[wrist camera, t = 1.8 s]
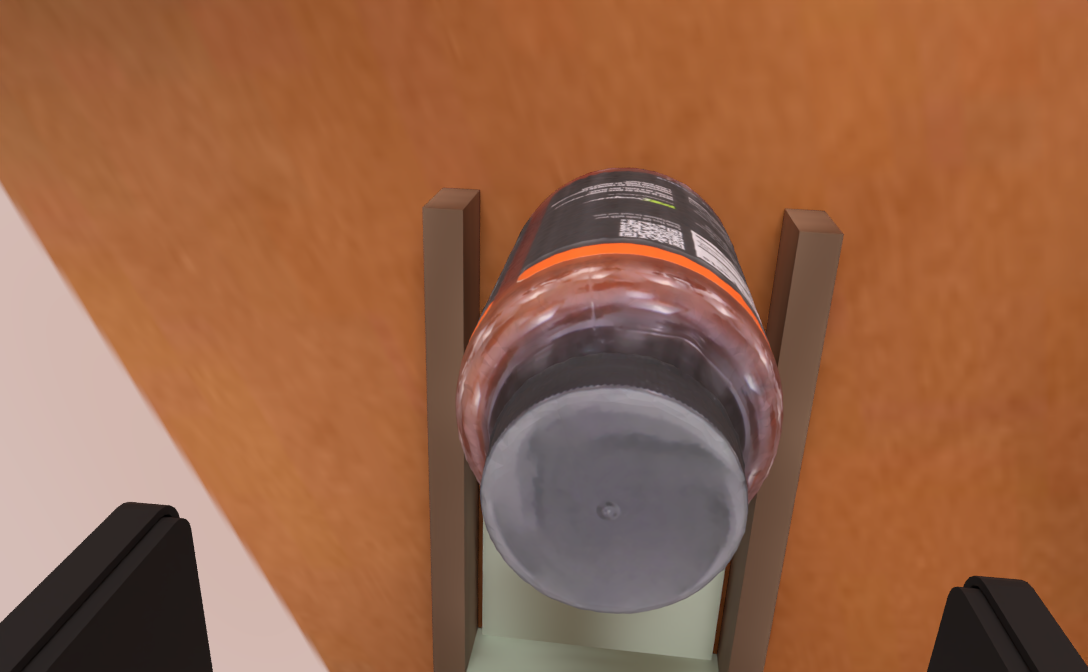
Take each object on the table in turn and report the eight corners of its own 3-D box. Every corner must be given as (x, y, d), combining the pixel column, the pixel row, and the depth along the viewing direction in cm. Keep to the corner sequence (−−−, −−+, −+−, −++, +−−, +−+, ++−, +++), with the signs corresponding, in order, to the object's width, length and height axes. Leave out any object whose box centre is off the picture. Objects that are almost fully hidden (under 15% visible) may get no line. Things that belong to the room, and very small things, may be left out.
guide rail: (824, 211, 21) (862, 256, 17) (743, 685, 27) (757, 792, 24) (443, 187, 22) (402, 226, 18) (449, 651, 28) (420, 749, 25)
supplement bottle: (557, 392, 24) (490, 697, 14) (484, 202, 22) (338, 390, 12) (760, 337, 23) (857, 629, 12) (701, 129, 21) (756, 267, 10)
